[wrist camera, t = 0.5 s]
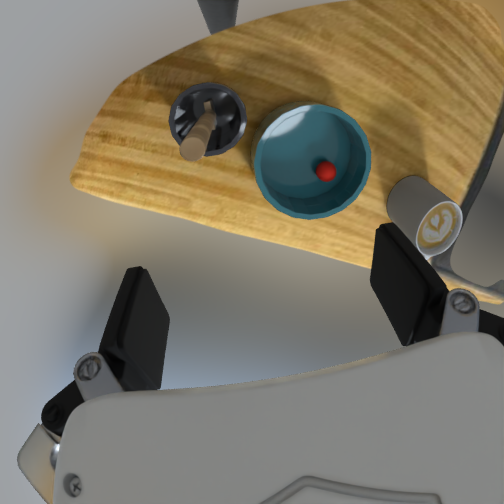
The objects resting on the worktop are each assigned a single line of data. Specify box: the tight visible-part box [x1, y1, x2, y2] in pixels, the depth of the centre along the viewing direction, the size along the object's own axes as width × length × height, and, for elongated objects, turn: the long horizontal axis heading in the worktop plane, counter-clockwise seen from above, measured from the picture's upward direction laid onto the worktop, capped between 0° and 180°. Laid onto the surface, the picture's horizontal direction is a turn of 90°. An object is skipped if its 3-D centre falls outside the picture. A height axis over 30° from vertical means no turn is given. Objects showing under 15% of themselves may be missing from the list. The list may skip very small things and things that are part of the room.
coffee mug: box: [387, 176, 462, 260], centre depth 41 cm, size 13×10×10 cm
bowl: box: [250, 101, 371, 220], centre depth 37 cm, size 16×16×6 cm
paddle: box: [180, 99, 217, 161], centre depth 25 cm, size 4×2×22 cm, turn 8°
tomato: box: [316, 161, 336, 182], centre depth 39 cm, size 3×3×3 cm
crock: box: [169, 82, 247, 157], centre depth 31 cm, size 8×8×9 cm
